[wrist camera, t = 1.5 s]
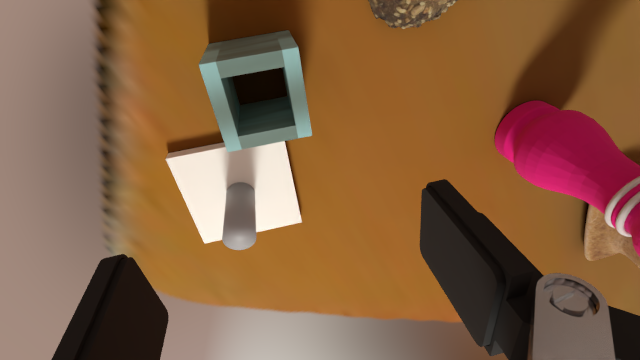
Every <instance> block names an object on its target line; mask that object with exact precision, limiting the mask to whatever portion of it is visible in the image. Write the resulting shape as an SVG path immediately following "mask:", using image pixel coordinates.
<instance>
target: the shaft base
mask: <svg viewBox="0 0 640 360" xmlns="http://www.w3.org/2000/svg"><path fill="white" fill-rule="evenodd" d="M166 160H167V163H168V165H169V167H170V169H171V171H172V174H173V176H174V178H175V180H176V182H177V185H178V187H179V189H180V191H181V193H182V195H183V198H184V200H185V202H186V204H187V206H188V209H189V211H190V213H191V215H192V217H193V220H194V222H195V224H196V226H197V228H198V231H199V233H200V235H201V237H202V239H203V241H204V244H205V243H209V242H214V241H218V240H223V243H224V244H225V245H226V246H227V247H229V248H231V249H234V250H244V249H247V248H249V247H251V246H252V245H253V244H254V243H255V241H256V232H260V231H264V230H269V229H273V228H278V227H282V226H287V225H292V224H296V223H301V222H302V220H301V216H300V211H299V206H298V201H297V197H296V192H295V187H294V183H293V178H292V173H291V168H290V164H289V159H288V154H287V150H286V145H285V141H282V142H277V143H272V144H267V145H262V146H257V147H252V148H247V149H242V150H237V151H232V152H227V149H226V146H225V143H224V142H223V143H218V144H213V145H208V146H202V147H197V148H192V149H187V150H182V151H177V152H172V153H168V155H167V157H166Z"/></svg>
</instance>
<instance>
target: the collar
mask: <svg viewBox="0 0 640 360" xmlns="http://www.w3.org/2000/svg"><path fill="white" fill-rule="evenodd" d="M199 67H200V70H201V74H202V77H203V80H204V83H205V86H206V89H207V92H208V95H209V98H210V101H211V104H212V107H213V110H214V113H215V116H216V119H217V122H218V125H219V128H220V131H221V134H222V137H223V140H224V143H225V146H226V149H227V152H232V151H237V150H242V149H247V148H252V147H257V146H262V145H267V144H272V143H277V142H282V141H287V140H292V139H297V138H302V137H307V136H312V131H311V125H310V119H309V112H308V106H307V100H306V93H305V87H304V80H303V74H302V68H301V61H300V55H299V49H298V46H297V44H296V42H295V41H294V39H293V37H292V35H291V34H290V32H289V30H286V31H280V32H274V33H269V34H263V35H257V36H251V37H246V38H240V39H234V40H228V41H223V42H217V43H211V44H208V46H207V48H206V50H205V53H204V55H203V57H202V59H201V61H200V63H199ZM281 67H282V70H283V75H284V81H285V86H286V91H287V96H286V97H280V98H275V99H270V100H264V101H259V102H254V103H249V104H243V105H240V104H239V100H238V97H237V93H236V90H235V86H234V82H233V79H232V76H237V75H242V74H248V73H253V72H259V71H265V70H270V69H276V68H281Z"/></svg>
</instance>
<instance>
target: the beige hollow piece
mask: <svg viewBox="0 0 640 360" xmlns="http://www.w3.org/2000/svg"><path fill="white" fill-rule="evenodd" d="M617 253H621V254H624V255H626V256H627V257H628V258H629V259H631V260H632V261H633V262H634V263H635V264H636V265H637V266H638V267H639V268H640V257H639V255H638V254H637V253H636V251H635V249H634V247H633V242H632V237H627V236H624V235H621V234H620V233H619V232H618V231H617V229H616V228H613V227H610V226H609V225H608V224H607V223H606V221H605V218H604V214H603V213H602V212H601V211H599V210H598V209H597V208H596V207H594V206H592V205H590V204H589V208H588V213H587V219H586V226H585V235H584V254H585V257H586V259H588V260H591V261H594V260H598V259H601V258H605V257H608V256H612V255H614V254H617Z"/></svg>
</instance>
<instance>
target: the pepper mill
mask: <svg viewBox="0 0 640 360" xmlns="http://www.w3.org/2000/svg"><path fill="white" fill-rule="evenodd" d="M495 146H496V148H497V150H498V152H499V153H500V154H502V155H503V156H504V157H506V158H507V159H508V160H510V161H511V162H513V163H514V166H515V168H516V170H517V172H518V173H519V174H520V175H521V176H522V177H523V178H524V179H526V180H527V181H529V182H531V183H532V184H534V185H536V186H538V187H541V188H544V189H547V190H551V191H556V192H560V193H564V194H568V195H572V196H574V197H576V198H579V199H581V200H584V201H585V202H587V203H589V204H590V205H592V206H594V207H596V208H597V209H598V210H599V211H601V212H602V213H603V214H604V218H605V221H606V223H607V224H608V225H609V226H610V227H613V228H616V229H617V231H618V232H619V233H620V234H621V235H624V236H627V237H632V242H633V247H634V249H635V251H636V253H637V254H638V255H639V257H640V165H638V164H636V163H635V162H633V161H632V160H630V159H629V158H627V157H626V156H625V155H624V154H623V153H622V152H621V151H620V150H619V149H618V147H617V146H616V145H615V143H614V142H613V140H612V139H611V138H610V136H609V135H608V133H607V132H606V131H605V129H604V128H603V127H602V126H600V125H599V124H598V123H597V122H596V121H595V120H594V119H592V118H590V117H588V116H587V115H585V114H583V113H581V112H578V111H574V110H561V111H560V110H559V109H558V108H556V107H554V106H552V105H550V104H548V103H546V102H543V101H536V100H535V101H529V102H526V103H523V104H521V105H519V106H517V107H515V108H514V109H513V110H512V111H511V112H509V113H508V114H507V115H506V116H505V117H504V119H503V120H502V121H501V123H500V124H499V126H498V128H497V130H496V135H495Z"/></svg>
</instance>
